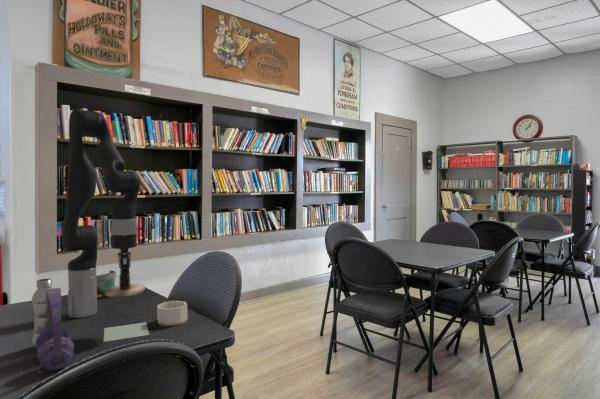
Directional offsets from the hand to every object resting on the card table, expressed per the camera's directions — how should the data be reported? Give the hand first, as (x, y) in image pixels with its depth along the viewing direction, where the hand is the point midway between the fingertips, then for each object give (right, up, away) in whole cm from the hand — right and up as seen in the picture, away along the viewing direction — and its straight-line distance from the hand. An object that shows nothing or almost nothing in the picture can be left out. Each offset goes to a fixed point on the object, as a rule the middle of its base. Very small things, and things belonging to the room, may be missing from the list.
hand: (124, 285), depth 129 cm
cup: (+12, -15, +10) cm, 22 cm away
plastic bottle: (-19, -16, -11) cm, 27 cm away
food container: (-27, -15, +45) cm, 55 cm away
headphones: (-9, -16, -22) cm, 29 cm away
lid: (0, -2, 0) cm, 2 cm away
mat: (0, -15, 0) cm, 15 cm away
